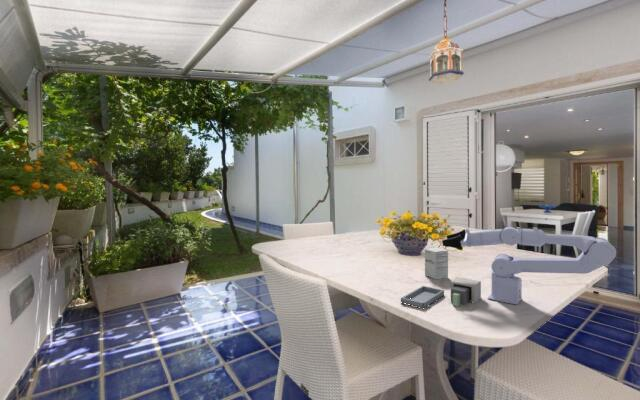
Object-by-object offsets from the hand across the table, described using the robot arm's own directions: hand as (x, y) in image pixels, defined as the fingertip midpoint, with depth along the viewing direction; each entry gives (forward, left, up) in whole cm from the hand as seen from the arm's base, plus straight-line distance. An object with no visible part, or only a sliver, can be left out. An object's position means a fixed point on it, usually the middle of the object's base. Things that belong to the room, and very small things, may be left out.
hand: (445, 240), depth 132 cm
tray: (+2, +16, -20) cm, 25 cm away
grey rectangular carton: (-9, +10, -20) cm, 24 cm away
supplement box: (+10, -15, -20) cm, 27 cm away
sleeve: (-9, +5, -20) cm, 22 cm away
